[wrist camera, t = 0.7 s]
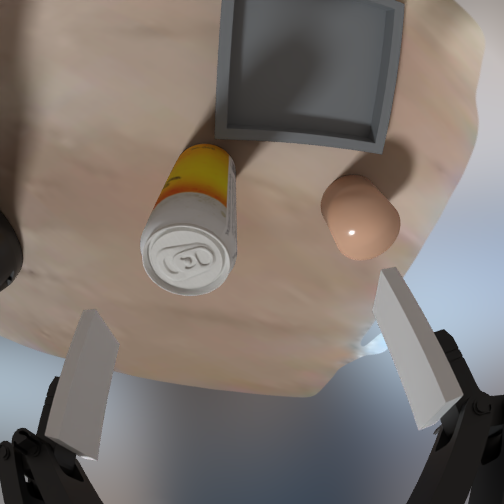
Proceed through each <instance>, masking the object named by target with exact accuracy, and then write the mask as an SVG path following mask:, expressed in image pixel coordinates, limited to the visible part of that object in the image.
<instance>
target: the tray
mask: <svg viewBox="0 0 504 504" xmlns="http://www.w3.org/2000/svg"><path fill="white" fill-rule="evenodd" d="M403 18H404V4H403V3H401V2H398V1H395V0H222V5H221V19H220V33H219V49H218V67H217V87H216V112H215V139H233V140H256V141H273V142H286V143H298V144H309V145H318V146H327V147H335V148H343V149H351V150H358V151H364V152H371V153H377V154H382V152H383V148H384V143H385V139H386V134H387V129H388V124H389V119H390V114H391V108H392V103H393V97H394V91H395V85H396V78H397V71H398V64H399V57H400V48H401V40H402V30H403Z"/></svg>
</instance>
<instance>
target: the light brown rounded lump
mask: <svg viewBox="0 0 504 504" xmlns="http://www.w3.org/2000/svg"><path fill="white" fill-rule="evenodd" d="M321 212H322V215H323V217H324V219H325V221H326V223H327V225H328V227H329V229H330V231H331V234H332V236H333V238H334V240H335V242H336V244H337V246H338V248H339V250H340V251H341V253H342V254H343V255H345V256H346V257H348V258H350V259H354V260H368V259H372V258H375V257H377V256H379V255H381V254H382V253H384V252H385V251H386V250H387V249H389V248H390V247H391V245H392V244H393V243H394V241H395V240H396V238H397V236H398V234H399V230H400V217H399V214H398V212H397V210H396V209H395V208H394V206H393V205H392V204H391V203H390V202H389V201H388V200H387V198H386V197H385V196H384V195H383V194H382V193H381V192H380V191H379V190H378V188H377V187H376V186H375V185H374V184H373V183H372V182H371V181H370V180H369V179H367V178H365V177H363V176H360V175H347V176H343V177H341V178H339V179H337V180H335V181H334V182H333V183H332V184H331V185H330V186H329V187H328V188H327V189H326V191H325V192H324V194H323V197H322V200H321Z"/></svg>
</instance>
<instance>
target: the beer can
mask: <svg viewBox="0 0 504 504" xmlns="http://www.w3.org/2000/svg"><path fill="white" fill-rule="evenodd" d="M140 250H141V254H142V261H143V266H144V268H145V271H146V273H147V274H148V276H149V277H150V278H151V279H152V281H153V282H155V283H156V284H157V285H158V286H160V287H161V288H163V289H165V290H167V291H169V292H171V293H175V294H178V295H185V296H196V295H202V294H206V293H209V292H211V291H213V290H215V289H216V288H218V287H219V286H220V285H221V284H222V283H223V282H224V281H225V280H226V278H227V276H228V274H229V273H230V271H231V270H232V268H233V267H234V265H235V262H236V258H237V220H236V169H235V164H234V162H233V160H232V158H231V156H230V155H229V154H228V153H227V152H226V151H225V150H223V149H222V148H220V147H218V146H215V145H212V144H198V145H194V146H192V147H190V148H188V149H186V150H185V151H184V152H183V153H182V154H181V155H180V156H179V158H178V160H177V161H176V163H175V165H174V167H173V169H172V171H171V173H170V175H169V177H168V179H167V181H166V183H165V185H164V187H163V189H162V191H161V194H160V196H159V198H158V200H157V202H156V204H155V206H154V208H153V211H152V213H151V215H150V217H149V219H148V222H147V224H146V226H145V228H144V231H143V233H142V236H141V241H140Z"/></svg>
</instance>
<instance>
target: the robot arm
mask: <svg viewBox="0 0 504 504" xmlns="http://www.w3.org/2000/svg"><path fill="white" fill-rule="evenodd" d="M21 267H22V252H21V247H20V244H19V241H18V239H17V236H16V234H15V232H14V230H13V228H12V227H11V225H10V224H9V222H8V221H7V219H6V218H5V217H4V215H3V214H2V213H1V212H0V292H1V291H2V290H3V289H5V288H6V287H7V286H9V285H10V284H11V283H12V282H13V281H14V279H15V278H16V276H17V275H18V273H19V272H20V270H21ZM372 312H373V314H374V316H375V318H376V320H377V323H378V325H379V328H380V330H381V332H382V335H383V337H384V339H385V342H386V344H387V347H388V349H389V351H390V354H391V356H392V359H393V361H394V364H395V366H396V369H397V371H398V374H399V376H400V379H401V382H402V384H403V387H404V390H405V393H406V395H407V398H408V401H409V403H410V406H411V409H412V412H413V415H414V418H415V421H416V424H417V427H418V430H421V429H424V428H426V427H429V426H431V425H433V424H435V423H436V422H437V421H438V420H439V419H440V420H441V423H442V425H440V426H439V427H438V428H437V429H436V430H435V432H434V434H437V433H438V435H437V438H436V441H435V443H434V446H433V448H432V451H431V453H430V455H429V458H428V460H427V462H426V465H425V467H424V469H423V472H422V474H421V476H420V478H419V480H418V482H417V484H416V486H415V488H414V490H413V492H412V494H411V496H410V498H409V500H408V502H407V503H406V504H464V503H465V501H466V499H467V496H468V494H469V491H470V489H471V493H470V498H469V502H468V504H504V395H498V396H489V395H488V394H486V393H485V392H482V391H480V389H479V388H478V386H477V384H476V382H475V380H474V378H473V376H472V374H471V372H470V370H469V367H468V366H467V364H466V361H465V359H464V358H463V357H462V354H461V352H460V350H459V349H458V346H457V344H456V342H455V340H454V338H453V337H452V336H451V335H450V334H449V333H448V332H446V331H445V330H444V329H443V330H440V331H437V332H433V330H432V329H431V327H430V325H429V323H428V321H427V319H426V317H425V316H424V314H423V312H422V310H421V308H420V307H419V305H418V303H417V301H416V300H415V298H414V296H413V294H412V293H411V291H410V289H409V288H408V286H407V284H406V283H405V281H404V279H403V278H402V276H401V274H400V273H399V271H398V270H397V268H396V267H393V268H387V269H382V270H381V272H380V278H379V283H378V287H377V292H376V297H375V302H374V306H373V310H372ZM119 345H120V344H119V342H118V341H117V340H116V338H115V337H114V335H113V334H112V332H111V331H110V330H109V328H108V327H107V325H106V324H105V322H104V321H103V319H102V318H101V316H100V315H99V313H98V312H97V310H96V309H91V310H83V313H82V315H81V318H80V320H79V323H78V326H77V328H76V331H75V334H74V336H73V339H72V342H71V345H70V348H69V351H68V353H67V356H66V359H65V362H64V366H63V369H62V372H61V375H60V377H56V376H55V378H54V379H53V381H52V383H51V384H50V386H49V389H48V392H47V397H46V400H45V405H44V406H43V411H42V414H41V418H40V422H39V426H38V431H37V434H36V435H35V434H33V433H32V432H30V431H29V430H27V429H26V428H20V429H18V430H17V431H16V432H15V433H14V435H13V437H12V444H11V443H10V442H8V441H3V442H1V443H0V481H1V487H2V493H3V498H4V503H5V504H103V502H102V501H101V499H100V498H99V496H98V494H97V493H96V491H95V489H94V488H93V486H92V484H91V483H90V481H89V479H88V477H87V476H86V474H85V472H84V470H83V468H82V467H81V465H80V463H79V462H78V460H77V459H76V454H77V455H78V456H80V457H82V458H84V459H89V460H95V461H97V460H98V452H99V445H100V439H101V432H102V425H103V420H104V414H105V409H106V404H107V398H108V393H109V388H110V384H111V379H112V374H113V370H114V365H115V361H116V357H117V353H118V349H119ZM25 476H26V477H28V482H26V481H25ZM471 486H472V487H471Z"/></svg>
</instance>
